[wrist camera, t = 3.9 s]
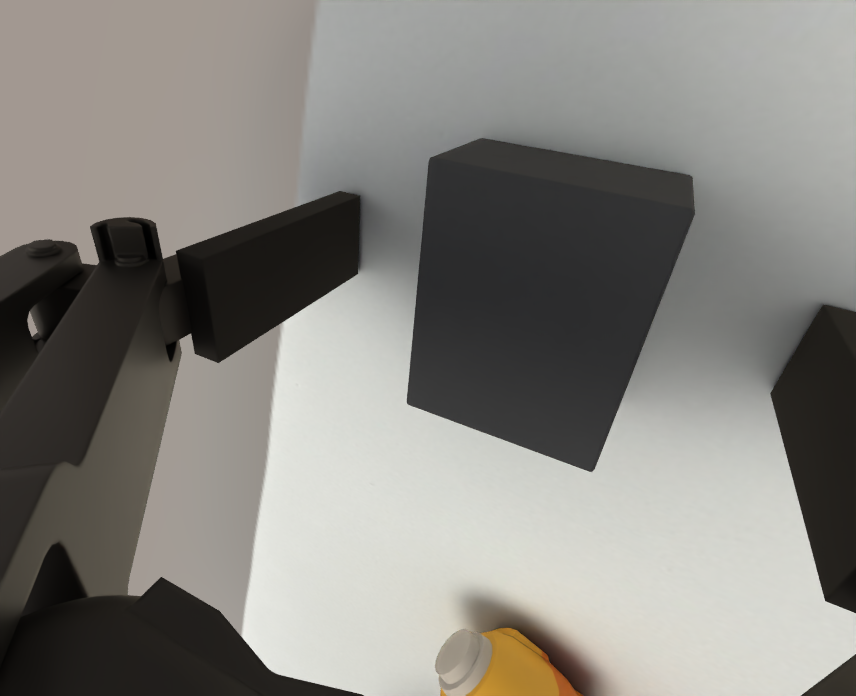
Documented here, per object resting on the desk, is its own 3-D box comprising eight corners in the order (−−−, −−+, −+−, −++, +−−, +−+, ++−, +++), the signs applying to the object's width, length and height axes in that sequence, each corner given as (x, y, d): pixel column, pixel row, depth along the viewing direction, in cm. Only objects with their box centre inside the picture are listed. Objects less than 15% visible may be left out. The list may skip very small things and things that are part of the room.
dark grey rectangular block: (480, 137, 14) (427, 156, 11) (694, 175, 12) (697, 209, 9) (449, 349, 17) (405, 404, 15) (609, 401, 16) (592, 474, 13)
